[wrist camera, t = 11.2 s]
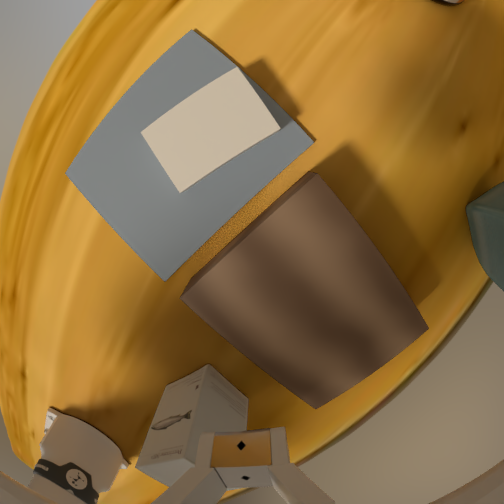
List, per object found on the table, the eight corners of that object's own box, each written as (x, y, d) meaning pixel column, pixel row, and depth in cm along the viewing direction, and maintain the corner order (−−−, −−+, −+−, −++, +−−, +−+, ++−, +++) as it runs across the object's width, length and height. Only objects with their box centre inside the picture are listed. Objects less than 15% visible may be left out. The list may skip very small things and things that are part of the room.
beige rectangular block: (140, 132, 19) (149, 134, 21) (179, 193, 21) (186, 190, 23) (237, 66, 18) (239, 74, 20) (280, 128, 19) (278, 131, 21)
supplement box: (209, 360, 29) (185, 457, 17) (250, 398, 30) (245, 490, 18) (164, 383, 30) (132, 467, 18) (205, 417, 32) (188, 498, 20)
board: (311, 384, 29) (315, 409, 25) (190, 278, 26) (179, 298, 22) (412, 308, 26) (429, 328, 22) (308, 171, 22) (317, 173, 19)
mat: (165, 280, 26) (164, 281, 25) (66, 173, 23) (65, 173, 22) (313, 142, 22) (314, 142, 21) (192, 30, 19) (191, 29, 18)
